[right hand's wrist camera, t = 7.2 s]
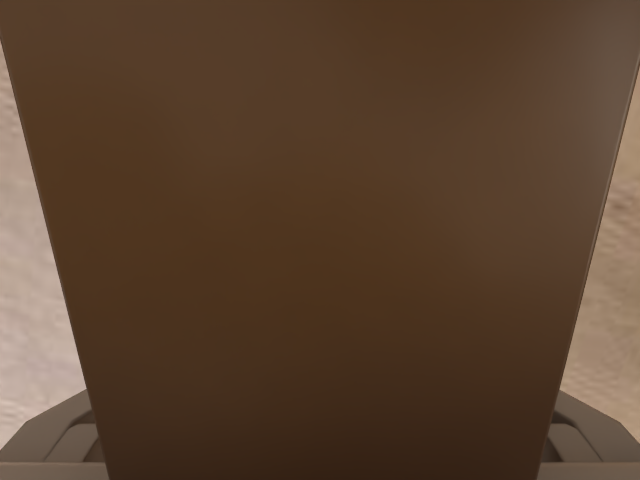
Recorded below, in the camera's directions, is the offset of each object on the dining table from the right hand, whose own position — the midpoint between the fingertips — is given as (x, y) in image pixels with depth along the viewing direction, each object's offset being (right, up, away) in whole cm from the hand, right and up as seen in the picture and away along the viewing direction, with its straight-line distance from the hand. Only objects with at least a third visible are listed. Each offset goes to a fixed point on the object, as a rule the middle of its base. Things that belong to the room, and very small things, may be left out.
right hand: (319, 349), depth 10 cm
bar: (0, +10, +1) cm, 10 cm away
